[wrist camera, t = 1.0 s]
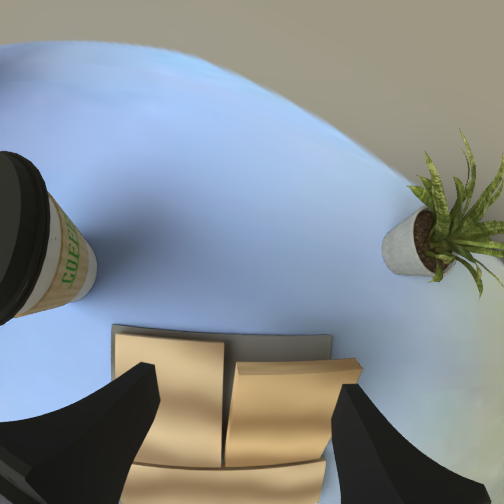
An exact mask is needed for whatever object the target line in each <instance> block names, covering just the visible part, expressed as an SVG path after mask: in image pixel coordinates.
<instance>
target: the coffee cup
mask: <svg viewBox="0 0 504 504" xmlns="http://www.w3.org/2000/svg"><path fill="white" fill-rule="evenodd" d="M96 276H97V260H96V256H95V254H94V251H93V249H92V248H91V246H90V245H89V244H88V243H87V242H86V241H85V239H84V237H83V236H82V234H81V233H80V231H79V230H78V229H77V227H76V226H75V225H74V224H73V223H72V221H71V220H70V219H69V218H68V216H67V215H66V214H65V212H64V211H63V210H62V209H61V207H60V206H59V205H58V203H57V202H56V201H55V199H54V198H53V197H52V196H51V195H50V193H49V192H48V191H47V189H46V185H45V182H44V180H43V178H42V176H41V174H40V172H39V170H38V169H37V168H36V167H35V166H34V164H33V163H32V162H31V161H29V160H28V159H26V158H24V157H23V156H21V155H19V154H17V153H13V152H8V151H0V326H1V325H3V324H5V323H6V322H8V321H9V320H11V319H12V318H17V317H21V316H25V315H29V314H33V313H37V312H41V311H45V310H49V309H53V308H56V307H60V306H63V305H65V304H67V303H70V302H74V301H77V300H80V299H81V298H83V297H84V296H85V295H87V294H88V293H89V291H90V290H91V288H92V287H93V285H94V282H95V279H96Z"/></svg>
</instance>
